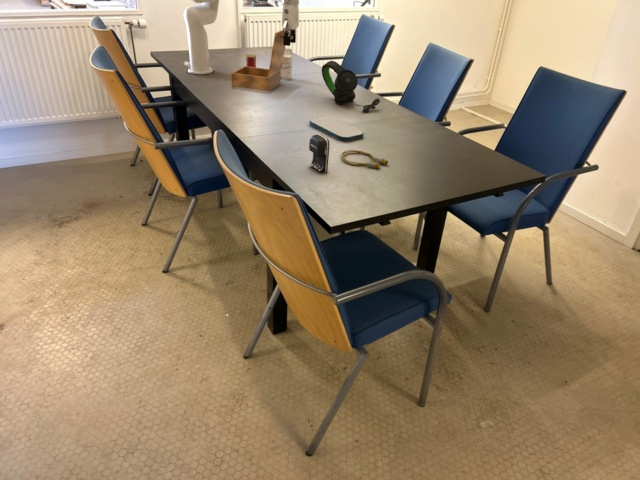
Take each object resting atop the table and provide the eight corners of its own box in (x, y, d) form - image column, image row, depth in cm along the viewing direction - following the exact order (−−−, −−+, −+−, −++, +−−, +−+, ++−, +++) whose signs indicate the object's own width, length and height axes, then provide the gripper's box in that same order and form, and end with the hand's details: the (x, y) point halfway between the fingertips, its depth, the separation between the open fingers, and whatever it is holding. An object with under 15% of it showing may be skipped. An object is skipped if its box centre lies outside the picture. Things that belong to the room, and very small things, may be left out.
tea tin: (244, 78, 250) (244, 56, 244) (248, 76, 254) (248, 54, 248) (254, 79, 249) (253, 57, 243) (257, 77, 253) (257, 55, 247)
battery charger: (306, 167, 162) (308, 133, 155) (316, 165, 163) (318, 132, 157) (318, 175, 157) (320, 141, 151) (328, 173, 159) (330, 139, 152)
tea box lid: (275, 32, 216) (286, 36, 215) (287, 27, 228) (298, 30, 228) (267, 76, 227) (278, 80, 226) (279, 69, 240) (290, 72, 239)
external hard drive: (306, 124, 197) (306, 119, 196) (328, 119, 203) (329, 115, 202) (343, 143, 181) (343, 138, 180) (366, 138, 187) (367, 133, 186)
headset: (356, 129, 220) (316, 85, 227) (379, 112, 223) (339, 70, 230) (359, 106, 203) (316, 59, 210) (384, 88, 206) (341, 43, 213)
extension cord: (361, 173, 160) (361, 167, 159) (334, 156, 171) (334, 150, 170) (390, 166, 165) (391, 161, 164) (362, 150, 177) (363, 145, 175)
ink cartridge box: (273, 79, 251) (273, 49, 243) (275, 77, 255) (275, 47, 248) (290, 80, 251) (290, 50, 243) (291, 78, 255) (292, 48, 247)
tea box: (231, 88, 234) (231, 73, 231) (245, 80, 247) (244, 66, 244) (268, 93, 230) (268, 78, 227) (280, 85, 243) (280, 70, 240)
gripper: (291, 3, 207) (291, 48, 216) (304, -1, 221) (303, 41, 230) (275, 1, 208) (275, 46, 218) (288, -3, 222) (288, 39, 232)
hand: (289, 43), depth 224 cm, fingers open, 6 cm apart
